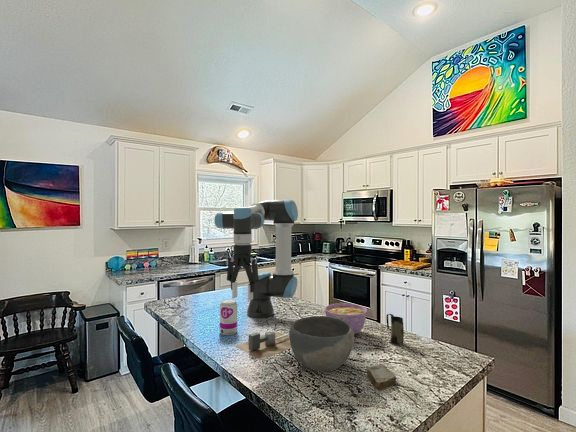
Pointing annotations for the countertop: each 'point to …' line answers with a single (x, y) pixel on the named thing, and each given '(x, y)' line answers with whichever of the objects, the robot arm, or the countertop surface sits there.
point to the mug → (396, 330)
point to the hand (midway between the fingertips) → (242, 298)
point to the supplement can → (228, 317)
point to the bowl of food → (348, 314)
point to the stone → (381, 377)
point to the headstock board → (268, 347)
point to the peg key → (262, 340)
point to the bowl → (321, 342)
